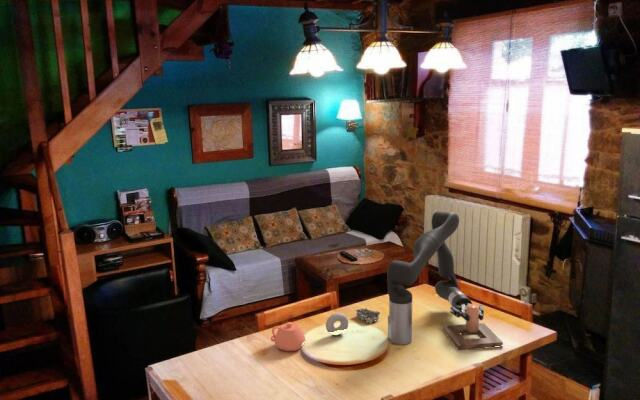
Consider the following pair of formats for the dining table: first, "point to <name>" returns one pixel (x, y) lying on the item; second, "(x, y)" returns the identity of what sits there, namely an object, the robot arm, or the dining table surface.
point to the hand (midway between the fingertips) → (475, 318)
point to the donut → (333, 319)
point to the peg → (472, 318)
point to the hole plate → (463, 344)
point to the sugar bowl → (288, 337)
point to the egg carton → (365, 315)
